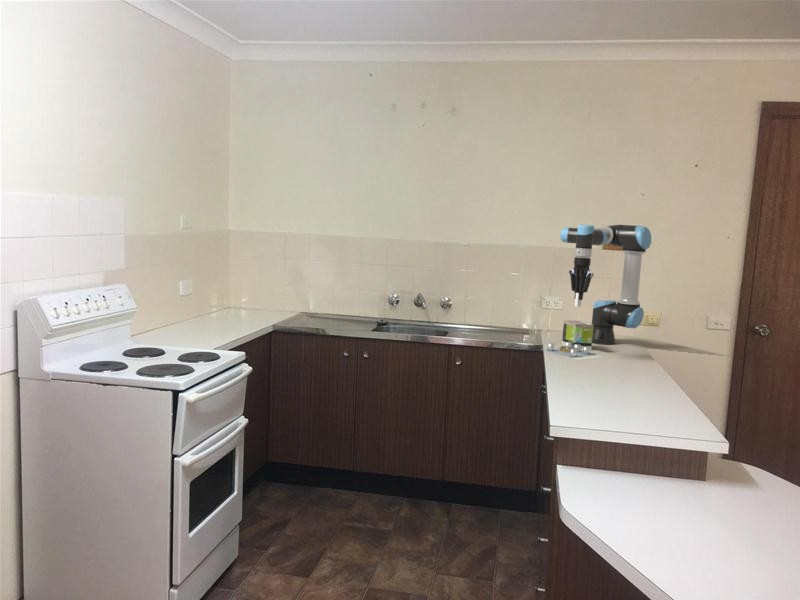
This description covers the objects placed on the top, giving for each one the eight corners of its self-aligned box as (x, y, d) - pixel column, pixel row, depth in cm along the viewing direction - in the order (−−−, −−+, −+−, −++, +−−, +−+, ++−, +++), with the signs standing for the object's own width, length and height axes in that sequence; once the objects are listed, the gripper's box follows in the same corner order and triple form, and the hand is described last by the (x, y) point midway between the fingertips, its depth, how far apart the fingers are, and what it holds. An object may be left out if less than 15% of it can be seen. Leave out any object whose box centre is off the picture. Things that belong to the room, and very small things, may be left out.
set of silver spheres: (566, 348, 336) (566, 341, 336) (593, 355, 322) (594, 348, 322) (545, 350, 327) (546, 343, 327) (573, 357, 313) (574, 350, 313)
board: (567, 350, 337) (567, 347, 337) (603, 359, 320) (603, 356, 320) (542, 352, 327) (543, 350, 327) (578, 362, 309) (579, 359, 309)
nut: (563, 350, 330) (564, 346, 330) (571, 352, 326) (572, 348, 326) (557, 350, 328) (558, 346, 328) (565, 352, 324) (566, 348, 323)
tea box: (591, 353, 335) (594, 324, 333) (572, 352, 333) (575, 323, 331) (579, 347, 350) (581, 319, 348) (560, 347, 348) (563, 319, 346)
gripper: (566, 255, 320) (561, 304, 323) (588, 258, 310) (583, 308, 313) (576, 256, 324) (572, 304, 327) (599, 258, 314) (593, 308, 317)
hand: (577, 306), depth 320 cm, fingers closed
